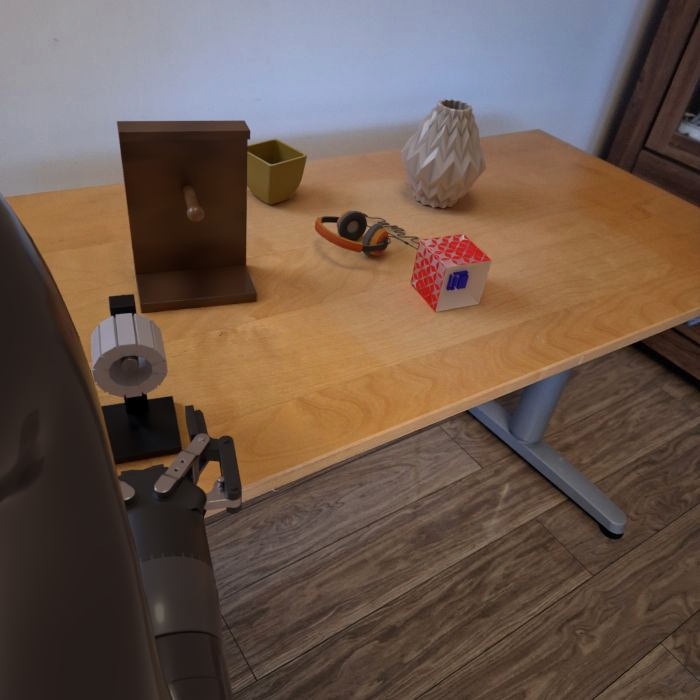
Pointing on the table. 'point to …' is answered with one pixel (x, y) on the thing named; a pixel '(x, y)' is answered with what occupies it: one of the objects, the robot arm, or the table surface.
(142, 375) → the grey faceted tube
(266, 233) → the table surface
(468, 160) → the vase
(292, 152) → the flower pot
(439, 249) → the red patterned cube
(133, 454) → the holder
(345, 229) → the headphones
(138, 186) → the rack
